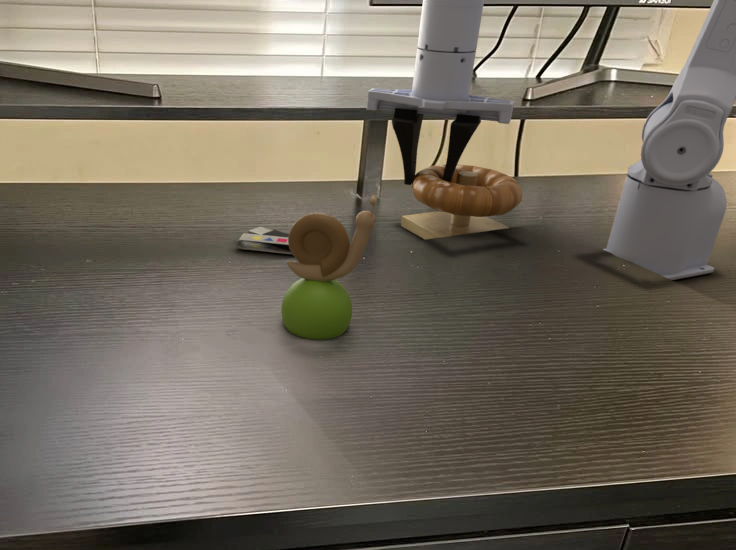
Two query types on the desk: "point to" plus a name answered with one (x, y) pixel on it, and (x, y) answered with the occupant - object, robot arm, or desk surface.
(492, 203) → the ring
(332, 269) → the snail figurine
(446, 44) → the robot arm
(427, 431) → the desk surface
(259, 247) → the grey game box
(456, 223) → the post
